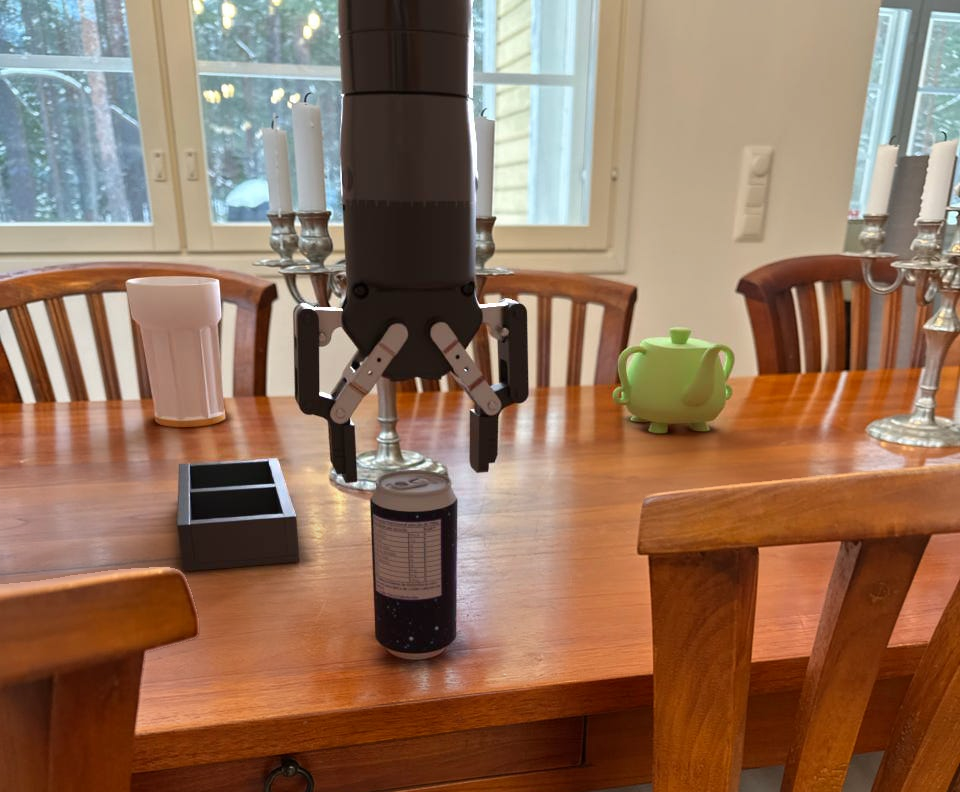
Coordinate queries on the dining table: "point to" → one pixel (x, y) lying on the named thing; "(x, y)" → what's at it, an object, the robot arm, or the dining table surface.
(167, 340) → the cup
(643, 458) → the dining table surface
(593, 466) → the dining table surface
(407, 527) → the beverage can
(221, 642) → the dining table surface
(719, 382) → the teapot
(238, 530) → the holder
